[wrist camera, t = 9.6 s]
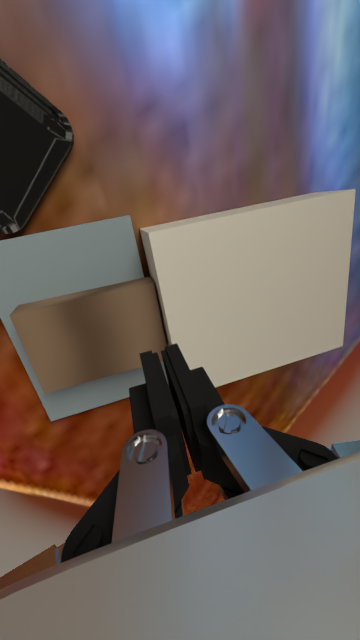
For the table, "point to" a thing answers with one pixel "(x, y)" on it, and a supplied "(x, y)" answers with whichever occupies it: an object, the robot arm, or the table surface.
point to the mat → (65, 278)
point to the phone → (27, 148)
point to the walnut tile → (90, 332)
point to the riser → (254, 282)
